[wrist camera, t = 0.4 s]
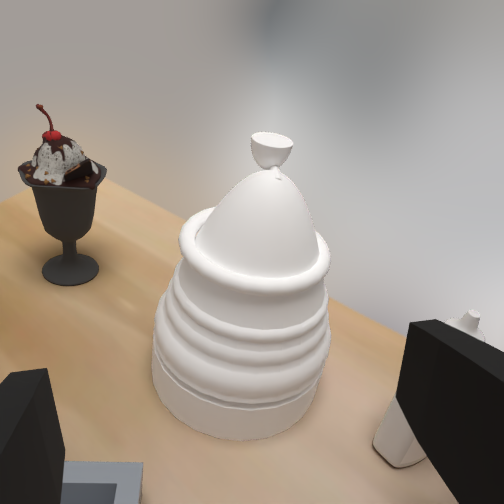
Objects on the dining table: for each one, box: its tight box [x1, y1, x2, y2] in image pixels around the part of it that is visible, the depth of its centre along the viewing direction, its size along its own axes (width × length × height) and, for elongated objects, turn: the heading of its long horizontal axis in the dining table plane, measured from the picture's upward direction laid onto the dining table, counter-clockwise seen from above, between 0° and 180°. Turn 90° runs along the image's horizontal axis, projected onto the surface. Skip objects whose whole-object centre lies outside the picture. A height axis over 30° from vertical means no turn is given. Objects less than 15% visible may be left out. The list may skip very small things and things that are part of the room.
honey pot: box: [152, 132, 331, 441], centre depth 32 cm, size 13×13×18 cm
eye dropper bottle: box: [373, 310, 485, 468], centre depth 30 cm, size 4×6×12 cm
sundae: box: [18, 104, 107, 286], centre depth 39 cm, size 7×7×15 cm
